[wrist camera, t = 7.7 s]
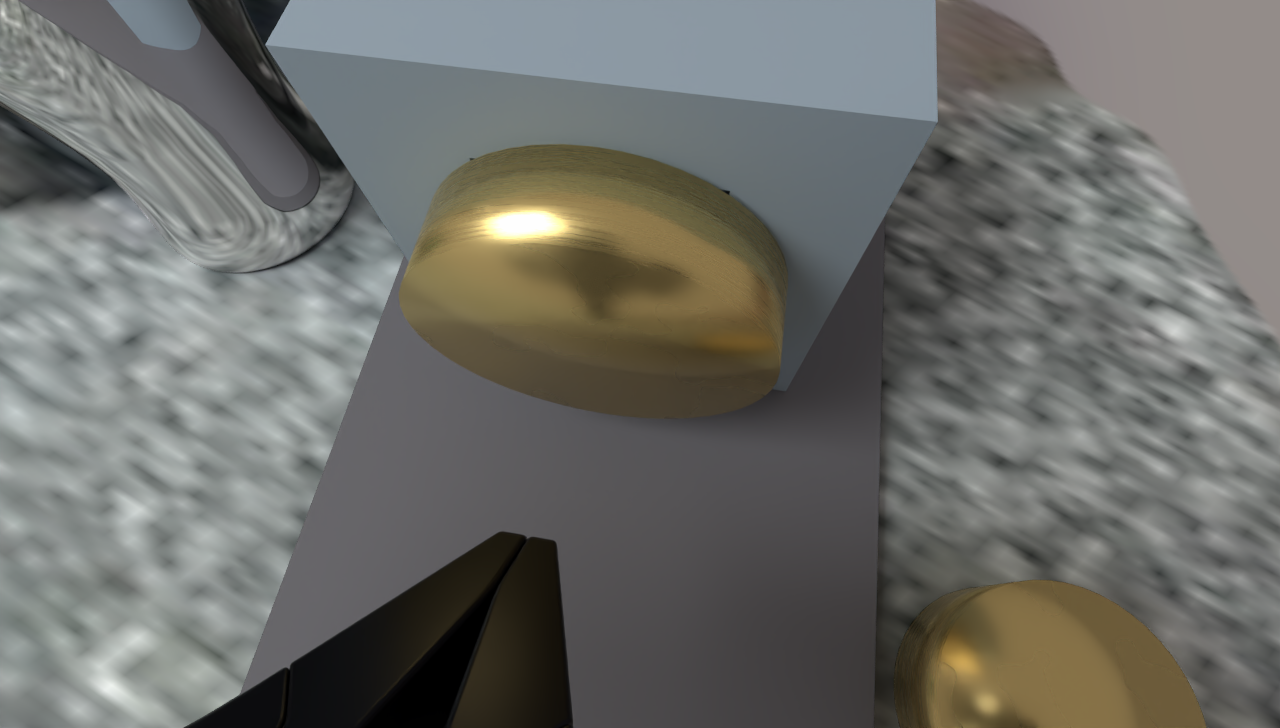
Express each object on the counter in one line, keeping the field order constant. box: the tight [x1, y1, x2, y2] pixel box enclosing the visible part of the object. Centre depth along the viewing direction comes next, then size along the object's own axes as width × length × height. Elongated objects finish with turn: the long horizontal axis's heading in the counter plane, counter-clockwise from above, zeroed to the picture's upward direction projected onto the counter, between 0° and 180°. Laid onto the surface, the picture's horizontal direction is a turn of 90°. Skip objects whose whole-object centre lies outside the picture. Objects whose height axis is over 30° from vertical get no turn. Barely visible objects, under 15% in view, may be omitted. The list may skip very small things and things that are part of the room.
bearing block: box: [266, 0, 938, 391], centre depth 14 cm, size 7×9×10 cm
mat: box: [240, 216, 885, 728], centre depth 15 cm, size 24×14×1 cm, turn 170°
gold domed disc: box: [894, 580, 1206, 728], centre depth 13 cm, size 5×5×2 cm
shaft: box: [399, 144, 788, 419], centre depth 15 cm, size 15×7×7 cm, turn 170°
